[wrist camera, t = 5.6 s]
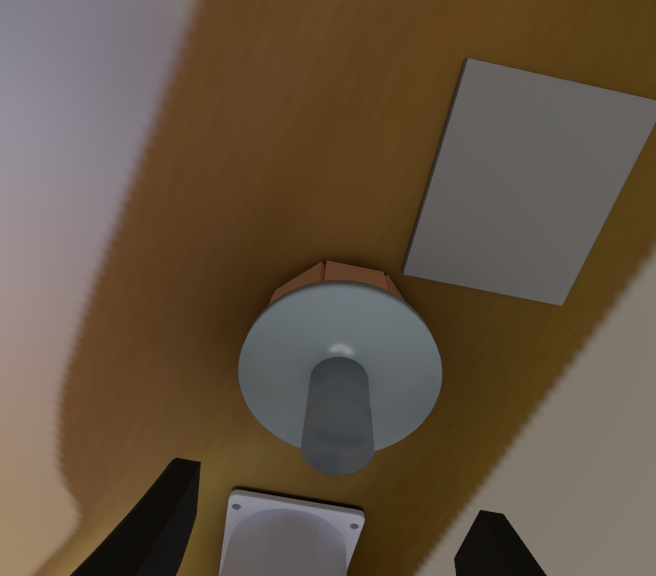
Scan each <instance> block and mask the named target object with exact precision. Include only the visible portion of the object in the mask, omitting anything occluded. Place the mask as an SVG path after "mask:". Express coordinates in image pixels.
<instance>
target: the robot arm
mask: <svg viewBox="0 0 656 576" xmlns="http://www.w3.org/2000/svg"><path fill="white" fill-rule="evenodd" d="M200 465H201V462H198V461H192V460H186V459H180V458H175V459H173V460H172V461H171V462H170V463H169V465H168V466H167V467H166V469H165V470H164V471H163V473H162V474H161V475H160V476H159V478H158V479H157V480H156V481H155V483H154V484H153V485H152V486H151V488H150V489H149V490H148V491H147V492H146V494H145V495H144V496H143V497H142V498H141V499H140V501H139V502H138V503H137V504H136V505H135V507H134V508H133V509H132V510H131V511H130V512H129V513H128V515H127V516H126V517H125V518H124V519H123V520H122V521H121V522H120V523H119V524H118V526H117V527H116V528H115V529H114V530H113V531H112V532H111V533H110V534H109V535H108V537H107V538H106V539H105V540H104V541H103V542H102V543H101V544H100V545H99V546H98V547H97V548H96V550H95V551H94V552H93V553H92V554H91V555H90V556H89V557H88V558H87V559H86V560H85V561H84V562H83V563H82V564H81V565H80V566H79V567H78V568H77V569H76V570H75V571H74V572H73V573H72V574H71V575H70V576H176V574H177V572H178V569H179V567H180V565H181V562H182V559H183V556H184V553H185V550H186V547H187V544H188V541H189V538H190V534H191V531H192V528H193V525H194V522H195V519H196V514H197V502H198V490H199V478H200ZM364 521H365V518H364V513H363V512H362V511H360V510H357V509H351V508H345V507H339V506H333V505H327V504H321V503H315V502H310V501H304V500H298V499H292V498H286V497H280V496H274V495H268V494H262V493H256V492H250V491H245V490H233V491H232V492H231V493H230V496H229V500H228V508H227V516H226V524H225V531H224V539H223V547H222V554H221V562H220V570H219V576H347V569H348V566H349V563H350V560H351V557H352V555H353V552H354V549H355V546H356V544H357V541H358V538H359V535H360V533H361V530H362V527H363V524H364ZM454 562H455V569H456V576H546V574H545V573H544V571H543V570H542V568H541V567H540V566H539V564H538V563H537V561H536V560H535V558H534V557H533V556H532V554H531V553H530V551H529V550H528V548H527V547H526V546H525V544H524V543H523V541H522V540H521V539H520V537H519V536H518V534H517V533H516V531H515V530H514V528H513V527H512V526H511V524H510V523H509V521H508V520H507V519H506V517H505V516H504V514H501V513H495V512H489V511H483V510H480V511H479V513H478V515H477V517H476V519H475V521H474V523H473V525H472V526H471V528H470V530H469V532H468V534H467V536H466V537H465V539H464V541H463V543H462V545H461V547H460V549H459V551H458V552H457V554H456V556H455V558H454Z"/></svg>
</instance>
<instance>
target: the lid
mask: <svg viewBox="0 0 656 576" xmlns="http://www.w3.org/2000/svg"><path fill="white" fill-rule="evenodd" d="M238 378H239V384H240V389H241V392H242V395H243V397H244V400H245V402H246V404H247V406H248V407H249V409H250V411H251V412H252V414H253V415H254V416H255V417H256V419H257V420H258V421H259V422H260V423H261V424H262V425H263V426H264V427H265V428H266V429H267V430H269V431H270V432H271V433H272V434H274V435H275V436H277V437H278V438H280V439H282V440H283V441H285V442H287V443H289V444H291V445H293V446H296V447H298V448H301V452H302V455H303V457H304V459H305V460H306V462H307V463H308V464H309V465H310V466H312V467H313V468H314V469H316V470H318V471H320V472H323V473H326V474H331V475H347V474H352V473H355V472H357V471H359V470H361V469H363V468H364V467H366V466H367V465H368V464H369V463H370V461H371V460H372V458H373V455H374V451H377V450H380V449H382V448H385V447H388V446H390V445H392V444H394V443H396V442H398V441H400V440H402V439H403V438H405V437H406V436H408V435H409V434H410V433H412V432H413V431H414V430H416V429H417V428H418V427H419V426H420V425H421V424H422V423H423V422H424V420H425V419H426V418H427V416H428V415H429V414H430V412H431V411H432V409H433V407H434V405H435V403H436V401H437V398H438V396H439V393H440V388H441V383H442V365H441V359H440V355H439V352H438V349H437V346H436V343H435V341H434V338H433V336H432V334H431V332H430V330H429V328H428V326H427V324H426V323H425V321H424V320H423V318H422V317H421V316H420V315H419V314H418V313H417V311H416V310H415V309H414V308H413V307H412V306H410V305H409V304H408V303H407V302H406V301H404V300H403V299H401V298H400V297H398V296H397V295H395V294H393V293H392V292H389V291H387V290H385V289H383V288H381V287H378V286H375V285H371V284H368V283H364V282H358V281H353V280H325V281H319V282H314V283H309V284H306V285H303V286H300V287H297V288H295V289H293V290H291V291H289V292H287V293H285V294H283V295H282V296H280V297H278V298H277V299H275V300H274V301H273V302H272V303H271V304H269V305H268V306H267V307H266V308H265V309H264V310H263V311H262V312H261V313H260V315H259V316H258V317H257V318H256V320H255V322H254V323H253V325H252V326H251V328H250V331H249V333H248V335H247V338H246V340H245V342H244V344H243V347H242V350H241V353H240V357H239V365H238Z"/></svg>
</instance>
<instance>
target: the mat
mask: <svg viewBox="0 0 656 576" xmlns="http://www.w3.org/2000/svg"><path fill="white" fill-rule="evenodd" d="M655 122H656V100H652V99H648V98H643V97H639V96H634V95H630V94H625V93H621V92H617V91H612V90H608V89H603V88H599V87H594V86H590V85H586V84H581V83H577V82H572V81H568V80H563V79H559V78H554V77H550V76H546V75H541V74H537V73H532V72H528V71H523V70H519V69H515V68H510V67H506V66H501V65H497V64H492V63H488V62H484V61H479V60H475V59H470V58H467V59H465V61H464V64H463V68H462V71H461V74H460V78H459V81H458V84H457V88H456V91H455V94H454V98H453V101H452V104H451V108H450V111H449V114H448V118H447V121H446V124H445V128H444V131H443V135H442V138H441V141H440V145H439V148H438V151H437V155H436V158H435V161H434V165H433V168H432V171H431V175H430V178H429V181H428V185H427V188H426V191H425V195H424V198H423V201H422V205H421V208H420V212H419V215H418V218H417V222H416V225H415V228H414V232H413V235H412V238H411V242H410V245H409V248H408V252H407V255H406V258H405V262H404V265H403V268H402V273H403V274H404V275H409V276H414V277H419V278H424V279H429V280H434V281H439V282H444V283H449V284H454V285H459V286H464V287H469V288H474V289H479V290H484V291H489V292H494V293H500V294H505V295H510V296H515V297H520V298H525V299H530V300H535V301H540V302H545V303H550V304H555V305H560V306H562V305H563V303H564V301H565V299H566V297H567V295H568V293H569V291H570V289H571V287H572V285H573V283H574V281H575V279H576V277H577V275H578V273H579V271H580V270H581V268H582V266H583V264H584V262H585V260H586V258H587V256H588V254H589V252H590V250H591V248H592V246H593V244H594V242H595V240H596V238H597V236H598V234H599V232H600V230H601V228H602V226H603V224H604V222H605V220H606V218H607V216H608V214H609V212H610V211H611V209H612V207H613V205H614V203H615V201H616V199H617V197H618V195H619V193H620V191H621V189H622V187H623V185H624V183H625V181H626V179H627V177H628V175H629V173H630V171H631V169H632V167H633V165H634V163H635V161H636V159H637V157H638V155H639V153H640V152H641V150H642V148H643V146H644V144H645V142H646V140H647V138H648V136H649V134H650V132H651V130H652V128H653V126H654V124H655Z"/></svg>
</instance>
